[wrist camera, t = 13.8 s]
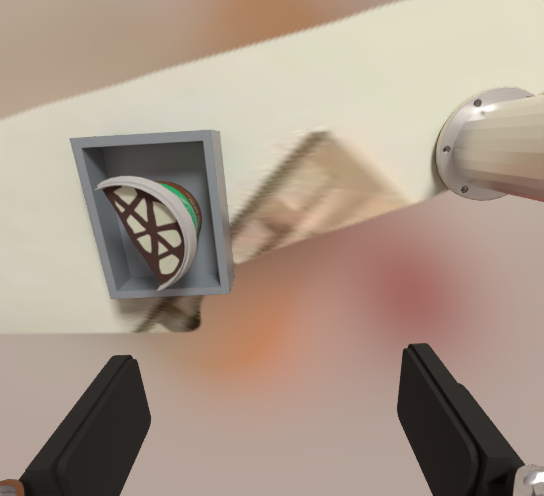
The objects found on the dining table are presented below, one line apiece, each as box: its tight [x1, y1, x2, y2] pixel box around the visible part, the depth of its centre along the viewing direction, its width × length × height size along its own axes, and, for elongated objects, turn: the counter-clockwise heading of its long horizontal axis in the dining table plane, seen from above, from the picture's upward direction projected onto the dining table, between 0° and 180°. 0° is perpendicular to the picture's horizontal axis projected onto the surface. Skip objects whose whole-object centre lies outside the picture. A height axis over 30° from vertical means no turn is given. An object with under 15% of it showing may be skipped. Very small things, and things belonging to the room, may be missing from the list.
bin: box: [70, 130, 235, 299], centre depth 37 cm, size 15×19×5 cm
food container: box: [95, 176, 202, 291], centre depth 34 cm, size 12×6×10 cm, turn 24°
